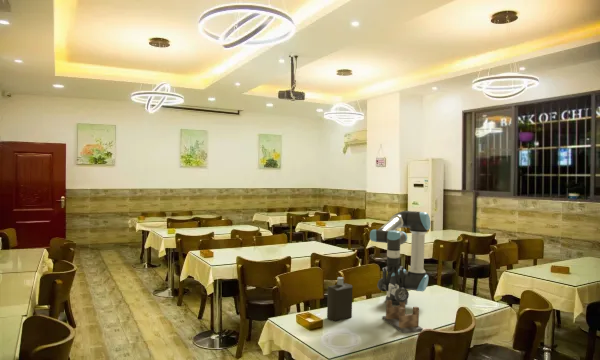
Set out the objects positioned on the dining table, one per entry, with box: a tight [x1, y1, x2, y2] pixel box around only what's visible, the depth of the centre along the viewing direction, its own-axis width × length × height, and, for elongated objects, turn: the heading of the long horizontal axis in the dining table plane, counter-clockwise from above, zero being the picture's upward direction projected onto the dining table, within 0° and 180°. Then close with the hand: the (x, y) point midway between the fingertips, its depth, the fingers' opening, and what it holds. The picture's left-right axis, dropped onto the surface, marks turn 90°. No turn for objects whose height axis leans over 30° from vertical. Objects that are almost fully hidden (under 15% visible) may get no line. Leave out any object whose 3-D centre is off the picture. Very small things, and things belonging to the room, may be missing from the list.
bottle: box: [326, 276, 353, 322], centre depth 262 cm, size 8×16×25 cm, turn 127°
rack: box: [381, 299, 424, 334], centre depth 253 cm, size 13×24×12 cm, turn 18°
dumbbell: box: [376, 277, 410, 302], centre depth 250 cm, size 8×23×8 cm, turn 17°
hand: (392, 295), depth 250 cm, fingers closed on dumbbell, 5 cm apart
